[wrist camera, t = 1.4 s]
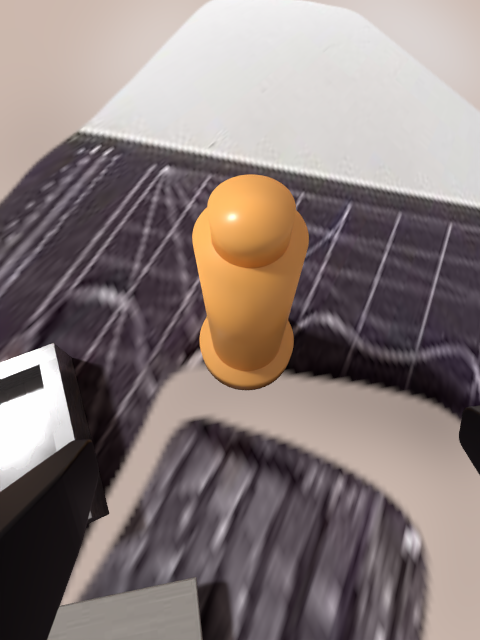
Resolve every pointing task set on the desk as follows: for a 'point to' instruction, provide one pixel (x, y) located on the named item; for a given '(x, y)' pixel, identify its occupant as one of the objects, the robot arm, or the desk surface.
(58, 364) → the gray square tray
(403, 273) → the desk surface
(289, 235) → the orange game pawn
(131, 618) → the electrical outlet
